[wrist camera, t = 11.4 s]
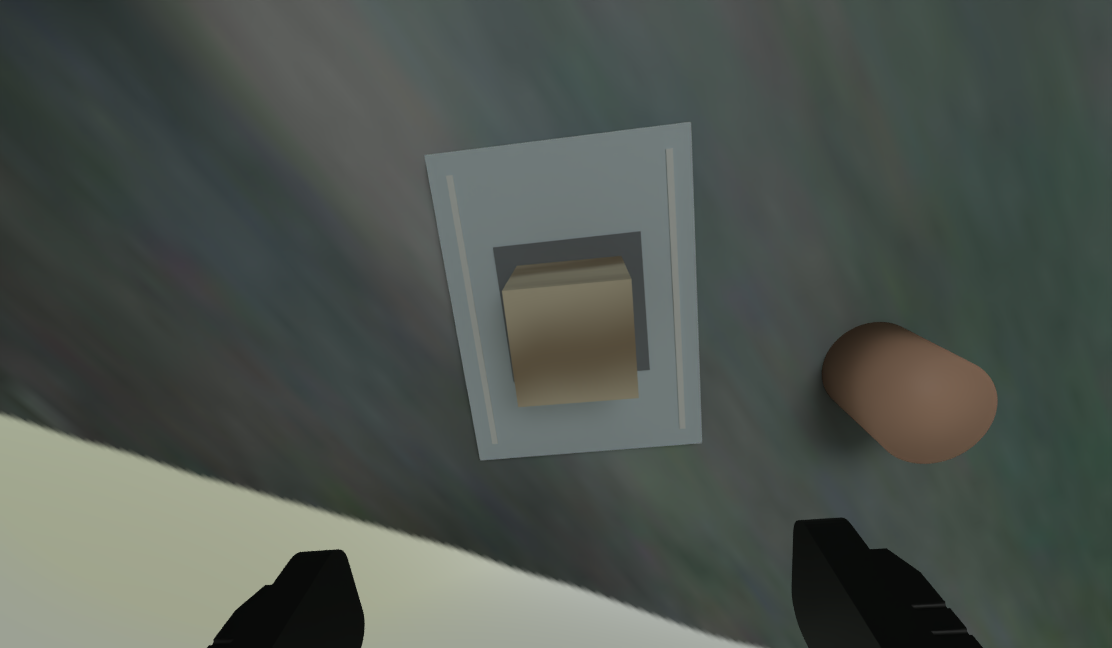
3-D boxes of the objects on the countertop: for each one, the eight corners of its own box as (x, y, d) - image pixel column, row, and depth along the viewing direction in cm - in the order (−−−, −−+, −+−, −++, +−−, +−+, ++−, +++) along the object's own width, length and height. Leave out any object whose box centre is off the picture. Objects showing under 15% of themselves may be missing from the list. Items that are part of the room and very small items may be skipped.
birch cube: (516, 265, 25) (501, 290, 20) (621, 255, 24) (631, 279, 20) (529, 362, 26) (518, 407, 21) (627, 354, 26) (638, 398, 21)
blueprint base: (430, 155, 24) (423, 155, 23) (686, 123, 23) (691, 121, 22) (483, 450, 29) (479, 461, 28) (697, 433, 28) (702, 443, 27)
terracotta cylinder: (823, 326, 26) (878, 363, 21) (926, 317, 26) (1005, 352, 21) (819, 414, 28) (870, 467, 23) (916, 407, 27) (988, 459, 22)
